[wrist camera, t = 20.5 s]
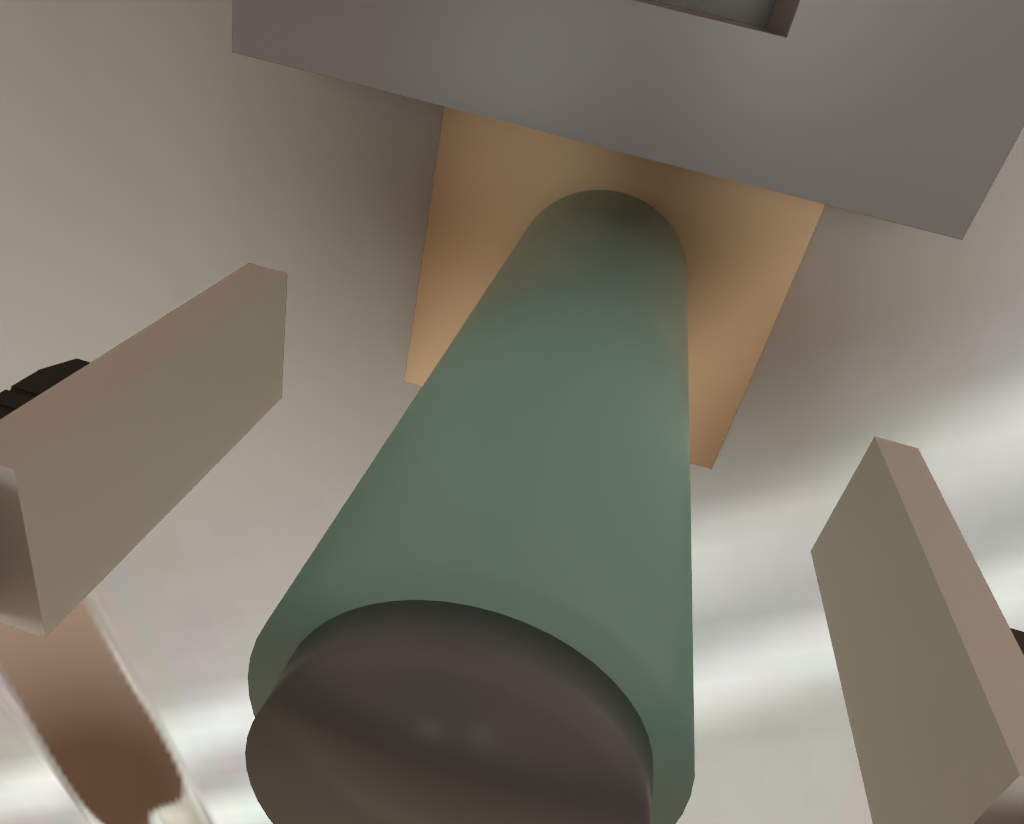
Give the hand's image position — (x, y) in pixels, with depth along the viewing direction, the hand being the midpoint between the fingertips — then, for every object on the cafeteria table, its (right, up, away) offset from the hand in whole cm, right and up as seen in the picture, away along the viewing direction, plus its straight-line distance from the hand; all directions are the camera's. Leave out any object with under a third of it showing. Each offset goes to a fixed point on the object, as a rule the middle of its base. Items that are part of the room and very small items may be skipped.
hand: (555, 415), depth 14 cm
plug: (+2, +4, +7) cm, 8 cm away
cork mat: (+2, +4, +7) cm, 8 cm away
